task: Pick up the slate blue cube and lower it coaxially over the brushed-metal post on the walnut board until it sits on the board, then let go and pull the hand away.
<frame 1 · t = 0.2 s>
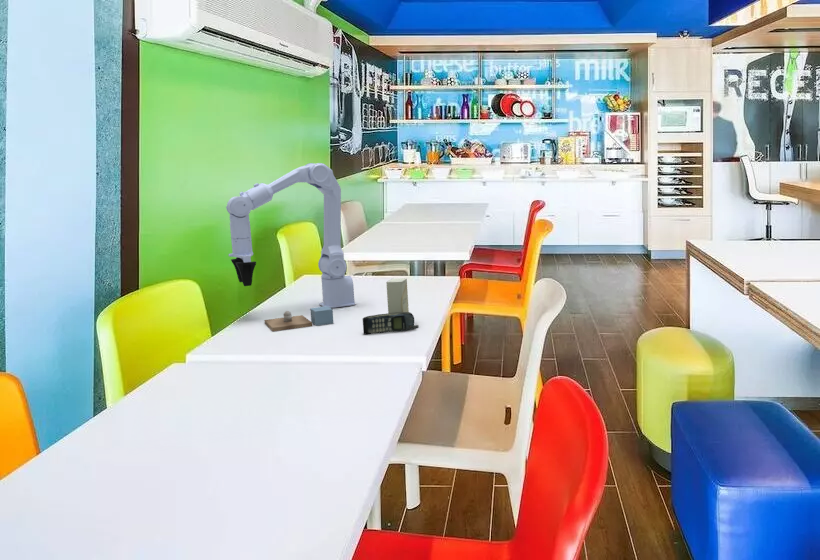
hand: (245, 283, 218), 10 cm above the table, fingers open, 7 cm apart
skincare box: (399, 324, 202), on the table
board: (288, 324, 207), on the table
slate blue cube: (322, 322, 207), on the table
mobile phone: (391, 332, 194), on the table
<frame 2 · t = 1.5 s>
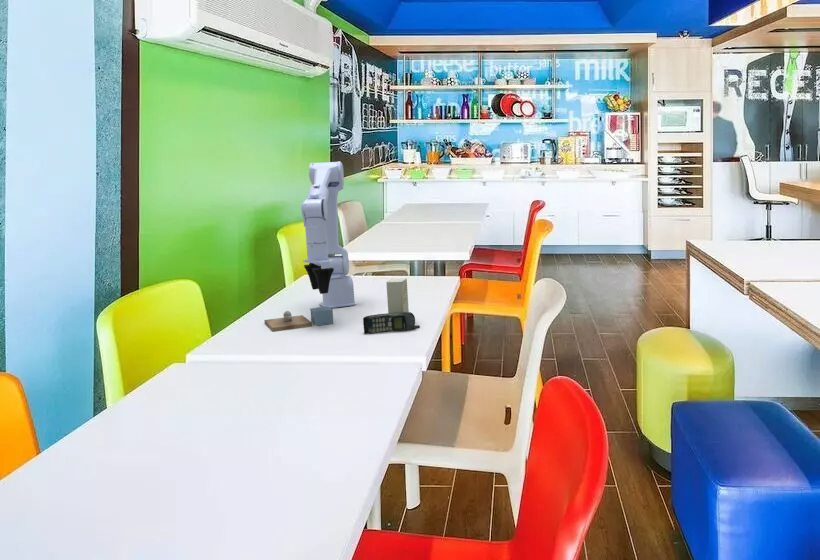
hand: (320, 291, 206), 9 cm above the table, fingers open, 7 cm apart
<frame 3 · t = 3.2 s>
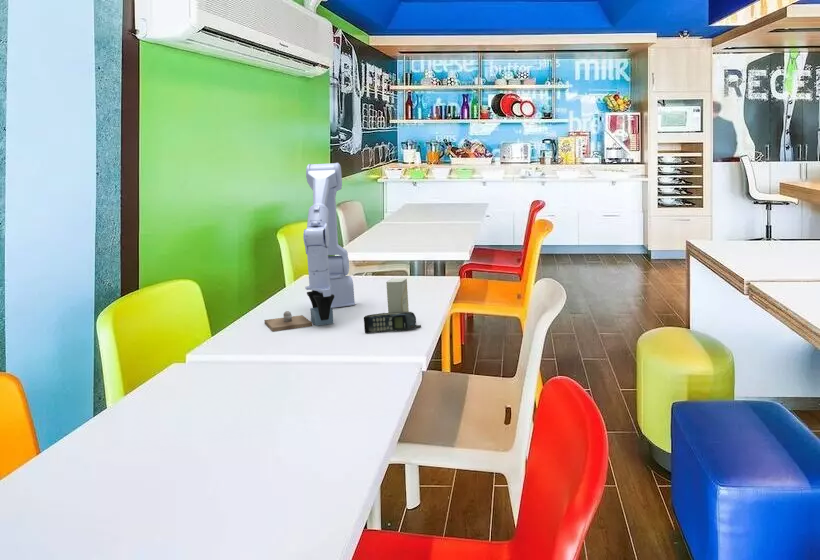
hand: (321, 317, 207), 1 cm above the table, fingers closed on slate blue cube, 5 cm apart
slate blue cube: (322, 322, 207), on the table, touching gripper
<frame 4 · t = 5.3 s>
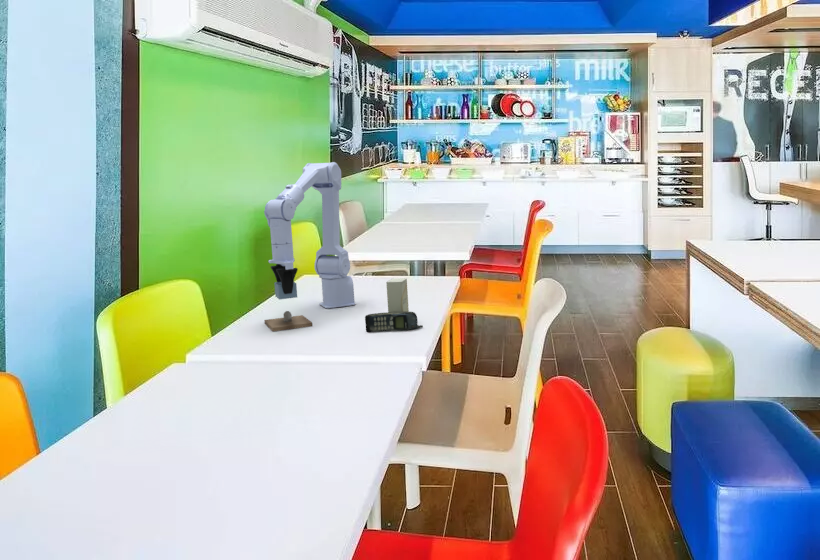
hand: (285, 291, 205), 9 cm above the table, fingers closed on slate blue cube, 5 cm apart
slate blue cube: (286, 296, 205), point 8 cm above the table, touching gripper
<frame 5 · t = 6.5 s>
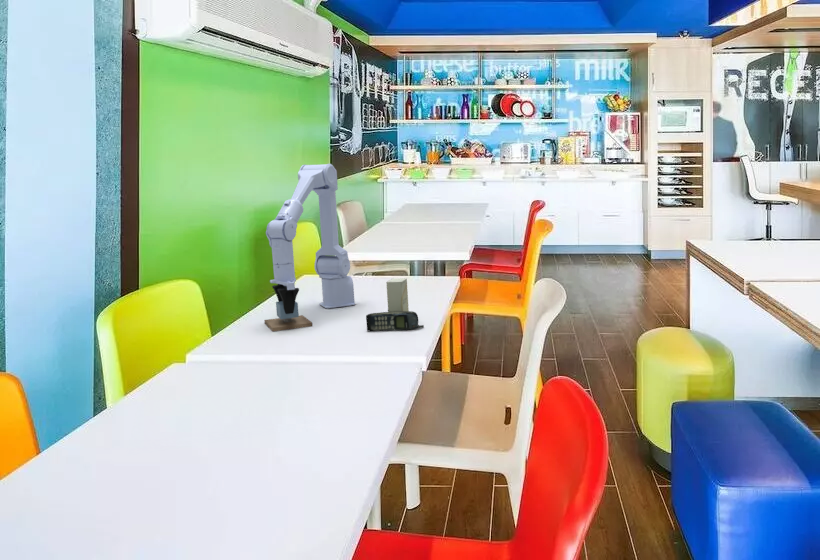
hand: (287, 311, 206), 4 cm above the table, fingers closed on slate blue cube, 5 cm apart
slate blue cube: (287, 316, 206), point 2 cm above the table, touching gripper
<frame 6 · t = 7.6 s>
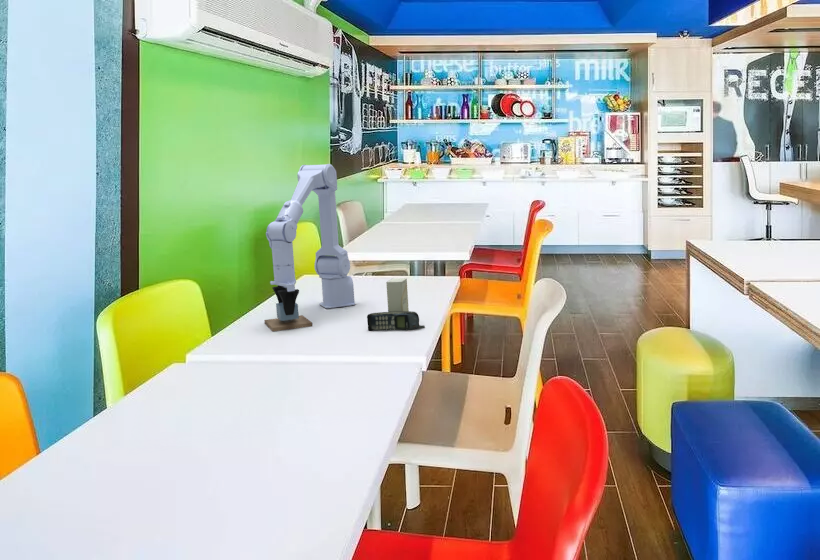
hand: (287, 312, 206), 3 cm above the table, fingers closed on slate blue cube, 5 cm apart
slate blue cube: (287, 317, 206), point 2 cm above the table, touching gripper
when the fingers open (3 cm above the table, at t = 7.6 s): slate blue cube stays where it is, resting on board.
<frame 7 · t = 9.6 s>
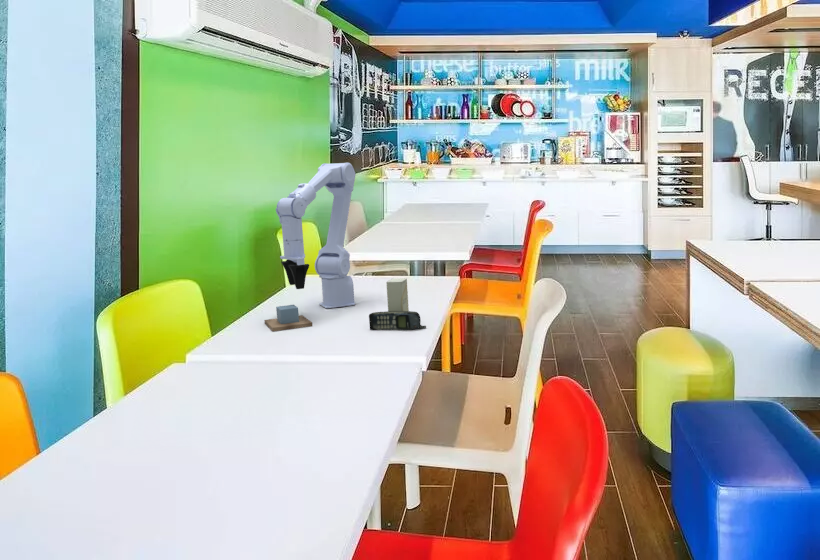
hand: (296, 286, 213), 9 cm above the table, fingers open, 7 cm apart
slate blue cube: (288, 321, 207), point 1 cm above the table, touching board
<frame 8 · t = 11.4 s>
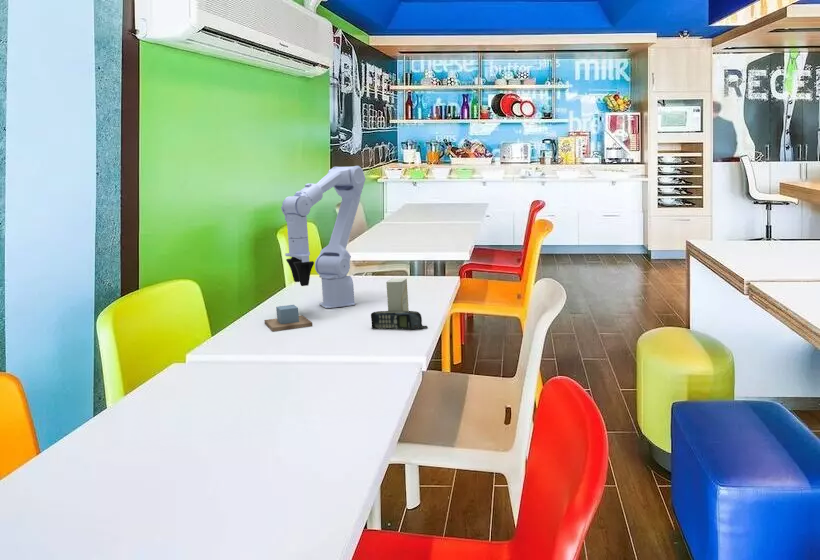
hand: (301, 283, 217), 9 cm above the table, fingers open, 7 cm apart
at the end: slate blue cube 0.1 cm off-centre on the board, point 1.0 cm above the board's base; slate blue cube tilted 0°; the gripper is holding nothing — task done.
